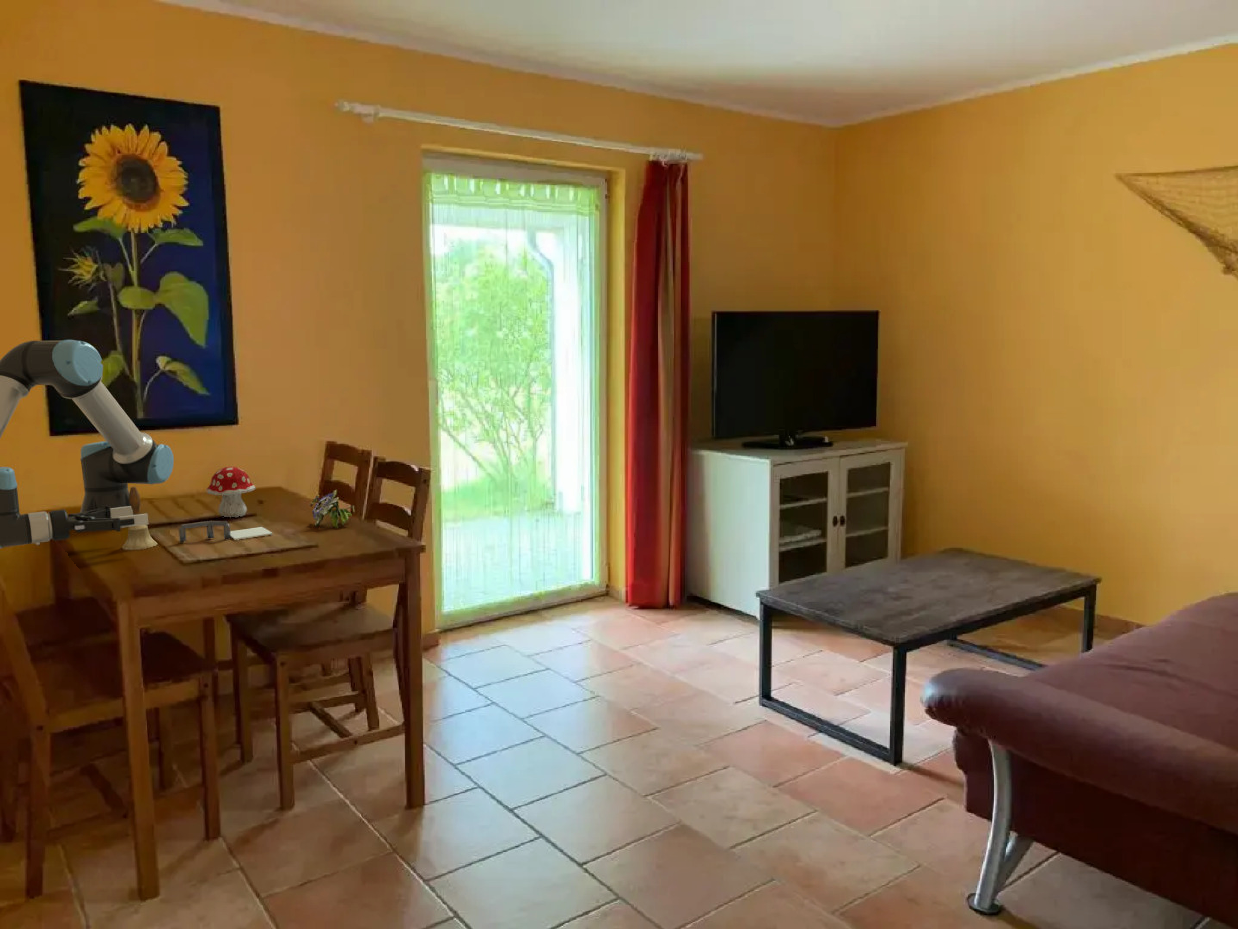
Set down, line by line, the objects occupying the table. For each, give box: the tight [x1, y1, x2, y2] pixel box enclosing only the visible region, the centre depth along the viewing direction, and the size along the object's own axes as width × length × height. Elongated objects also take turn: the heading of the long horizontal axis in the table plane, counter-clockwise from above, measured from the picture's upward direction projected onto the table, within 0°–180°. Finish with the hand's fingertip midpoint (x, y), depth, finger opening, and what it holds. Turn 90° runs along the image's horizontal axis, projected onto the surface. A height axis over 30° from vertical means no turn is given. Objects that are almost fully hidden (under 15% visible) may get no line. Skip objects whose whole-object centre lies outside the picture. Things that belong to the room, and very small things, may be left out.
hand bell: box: [121, 486, 158, 551], centre depth 252 cm, size 8×8×16 cm
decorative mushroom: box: [206, 466, 256, 519], centre depth 288 cm, size 14×14×15 cm
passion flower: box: [310, 489, 355, 529], centre depth 275 cm, size 11×11×12 cm
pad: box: [230, 526, 274, 541], centre depth 264 cm, size 10×10×1 cm
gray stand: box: [178, 520, 232, 543], centre depth 258 cm, size 5×12×5 cm, turn 126°
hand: (142, 514), depth 252 cm, fingers open, 13 cm apart
